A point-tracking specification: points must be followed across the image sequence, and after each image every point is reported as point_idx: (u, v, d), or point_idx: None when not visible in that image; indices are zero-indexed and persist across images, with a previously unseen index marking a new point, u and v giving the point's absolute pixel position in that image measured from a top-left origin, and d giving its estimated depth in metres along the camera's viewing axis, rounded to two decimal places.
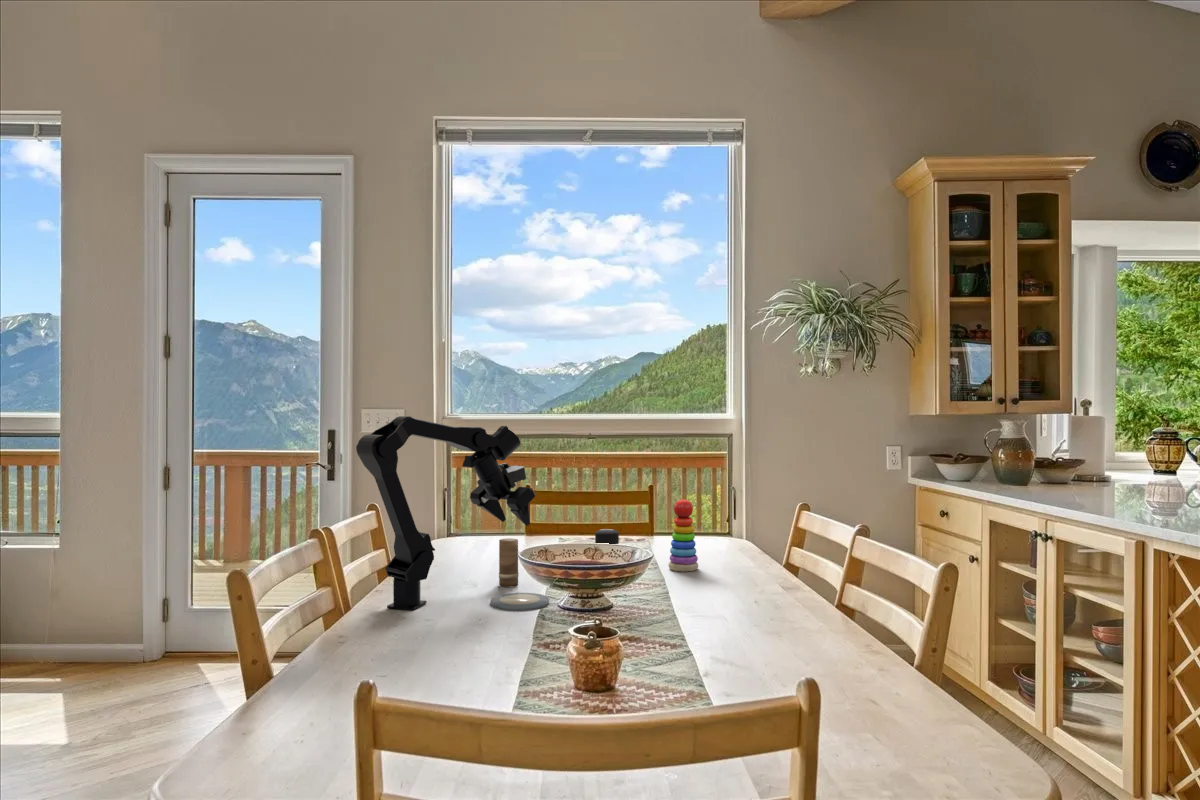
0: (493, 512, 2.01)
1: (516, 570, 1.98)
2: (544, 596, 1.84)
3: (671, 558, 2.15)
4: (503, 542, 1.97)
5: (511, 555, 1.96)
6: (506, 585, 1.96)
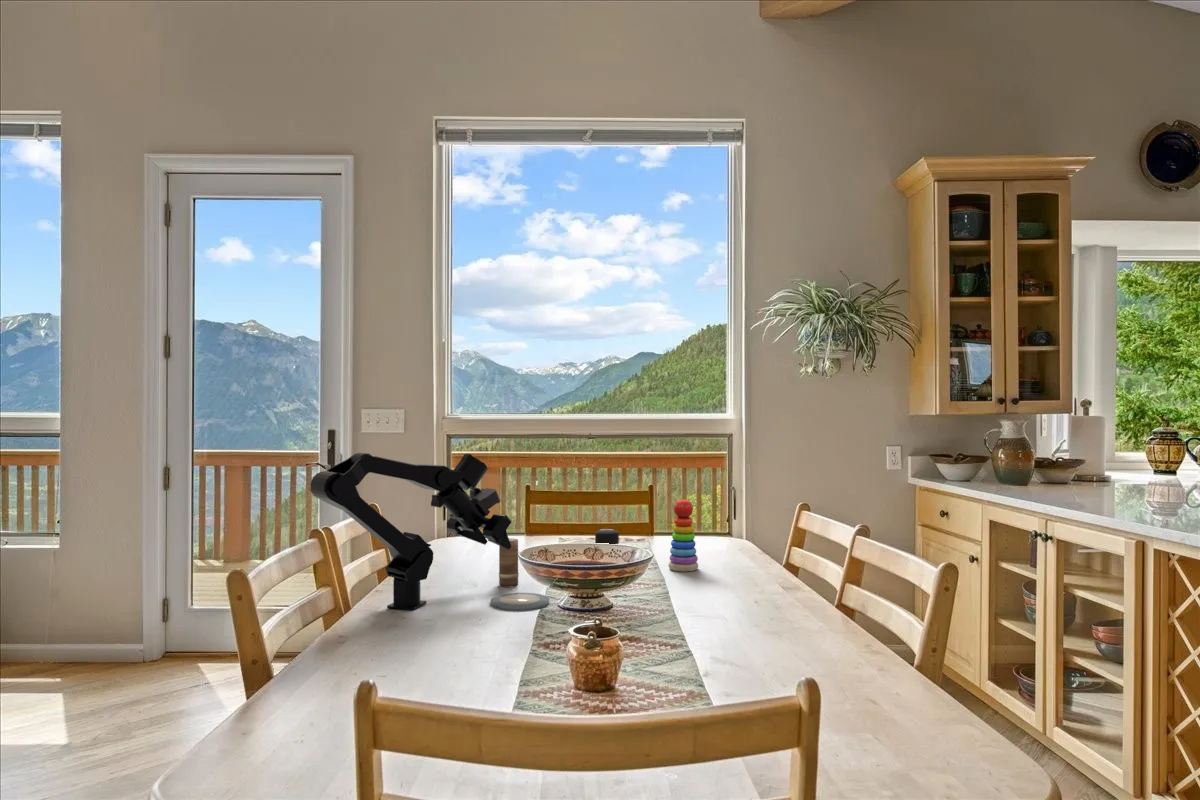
0: (473, 538, 1.97)
1: (516, 570, 1.98)
2: (544, 596, 1.84)
3: (671, 558, 2.15)
4: None
5: (511, 555, 1.96)
6: (506, 585, 1.96)
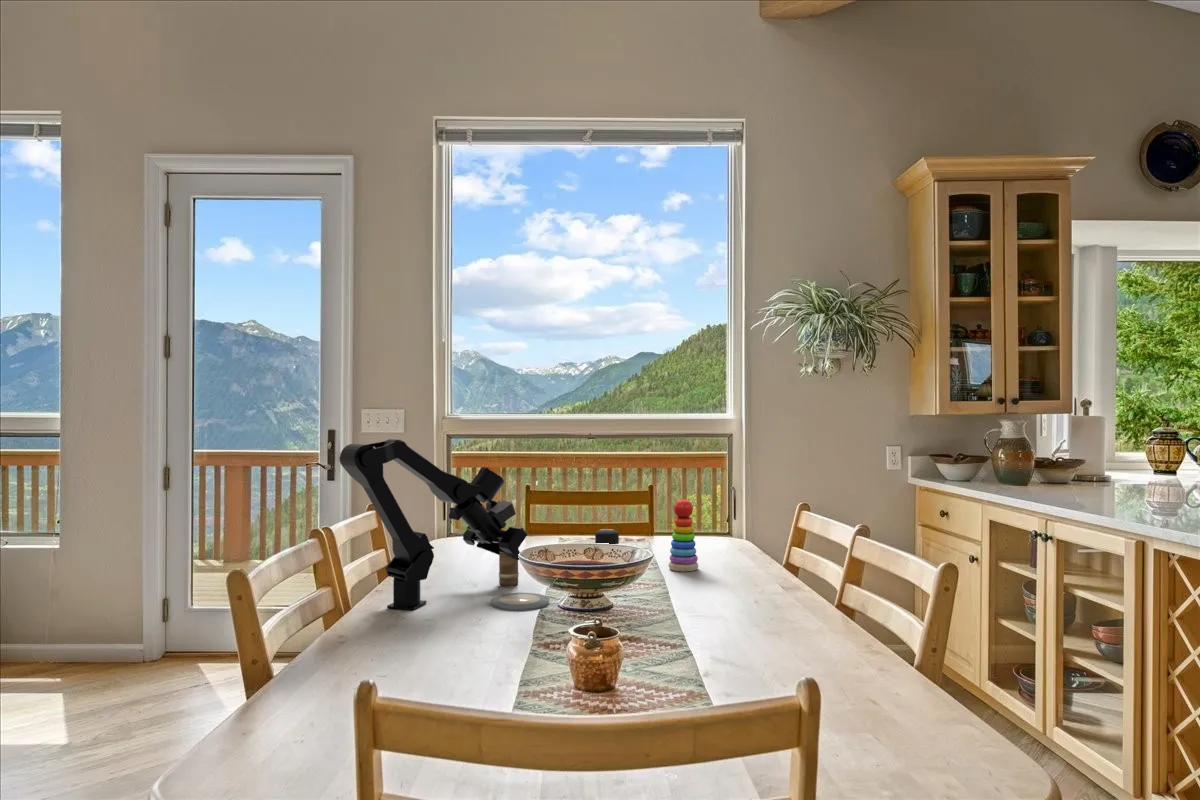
0: (494, 551, 1.99)
1: (516, 570, 1.98)
2: (544, 596, 1.84)
3: (671, 558, 2.15)
4: None
5: None
6: (506, 585, 1.96)
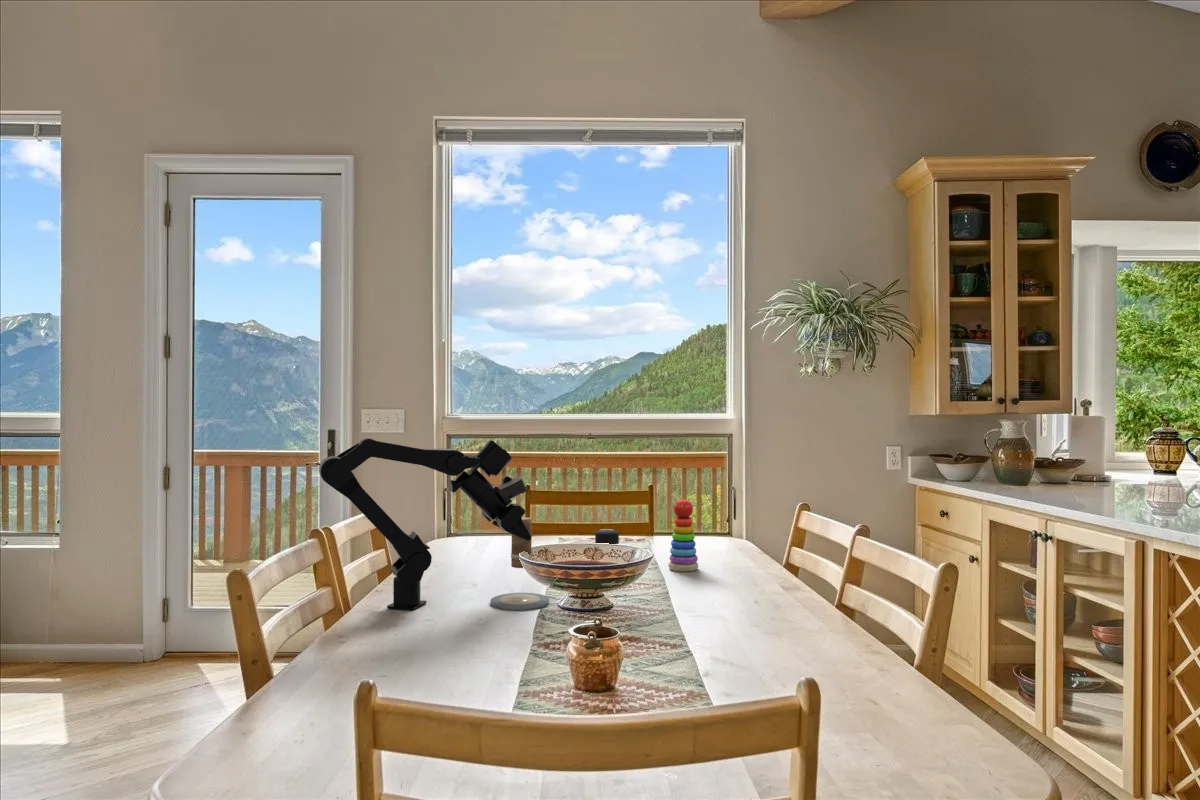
0: None
1: (526, 551, 1.86)
2: (544, 596, 1.84)
3: (671, 558, 2.15)
4: None
5: None
6: (515, 566, 1.86)
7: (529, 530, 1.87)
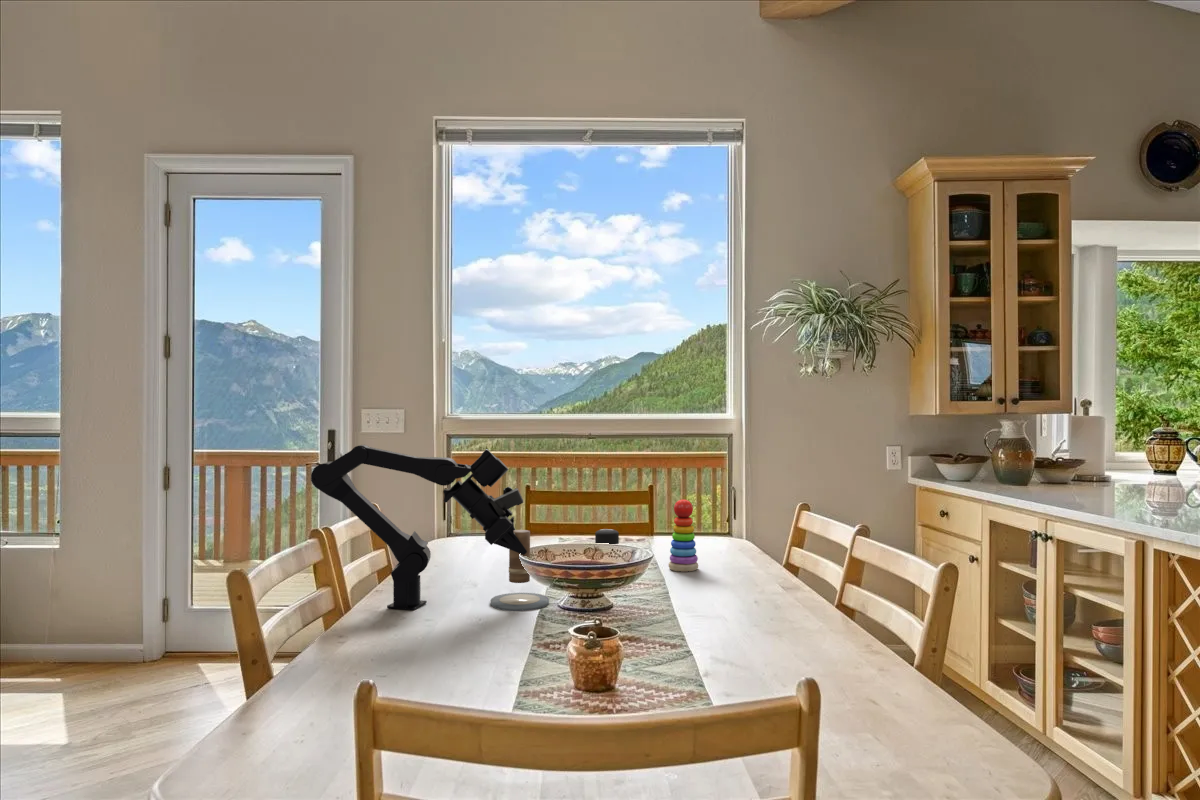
0: None
1: None
2: (544, 596, 1.84)
3: (671, 558, 2.15)
4: None
5: None
6: (511, 580, 1.79)
7: (525, 544, 1.79)
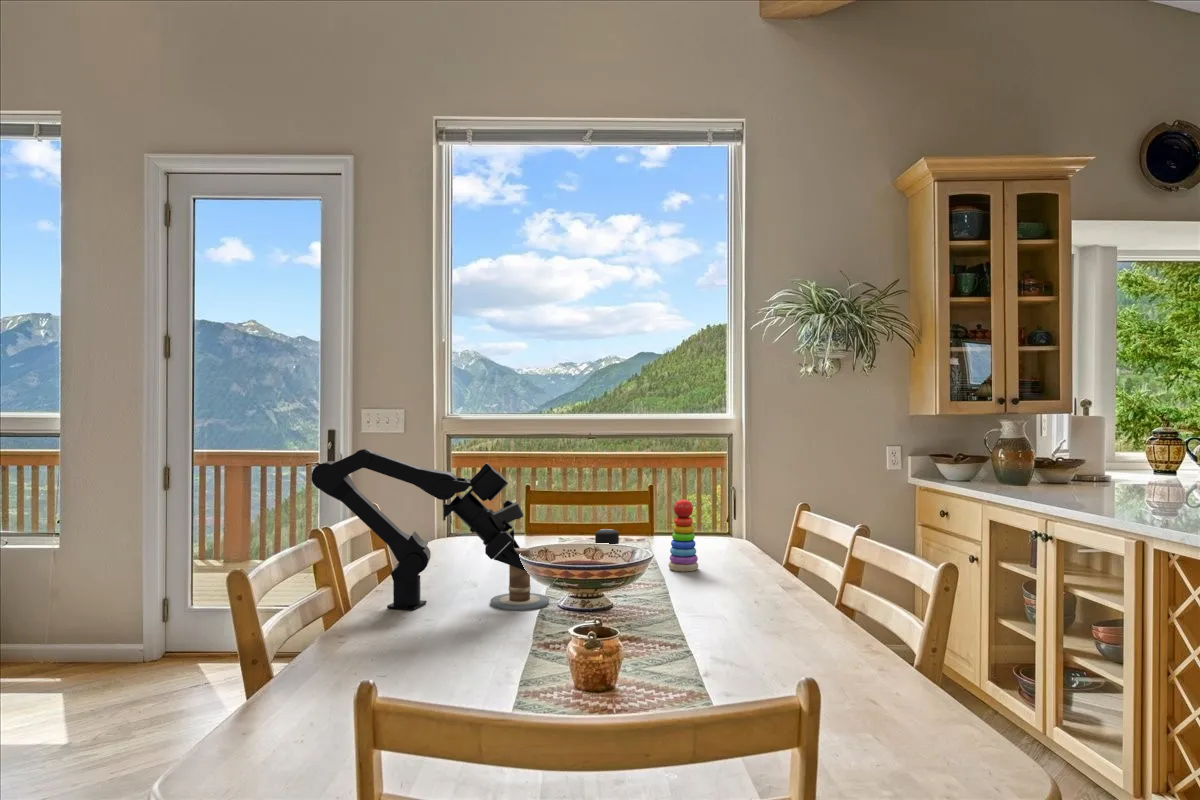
0: None
1: (522, 584, 1.79)
2: (544, 596, 1.84)
3: (671, 558, 2.15)
4: None
5: None
6: (511, 599, 1.79)
7: None
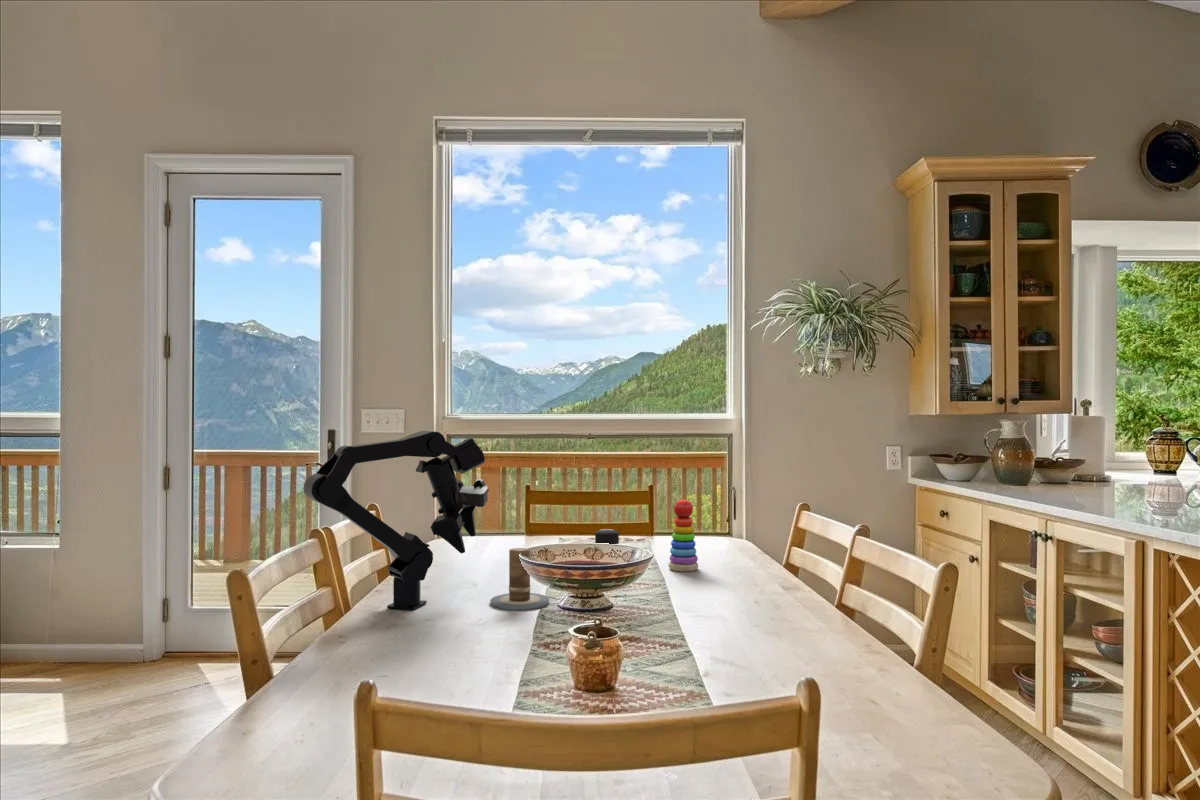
0: (462, 522, 1.90)
1: (522, 584, 1.79)
2: (544, 596, 1.84)
3: (671, 558, 2.15)
4: (509, 551, 1.80)
5: (515, 566, 1.79)
6: (511, 599, 1.79)
7: None
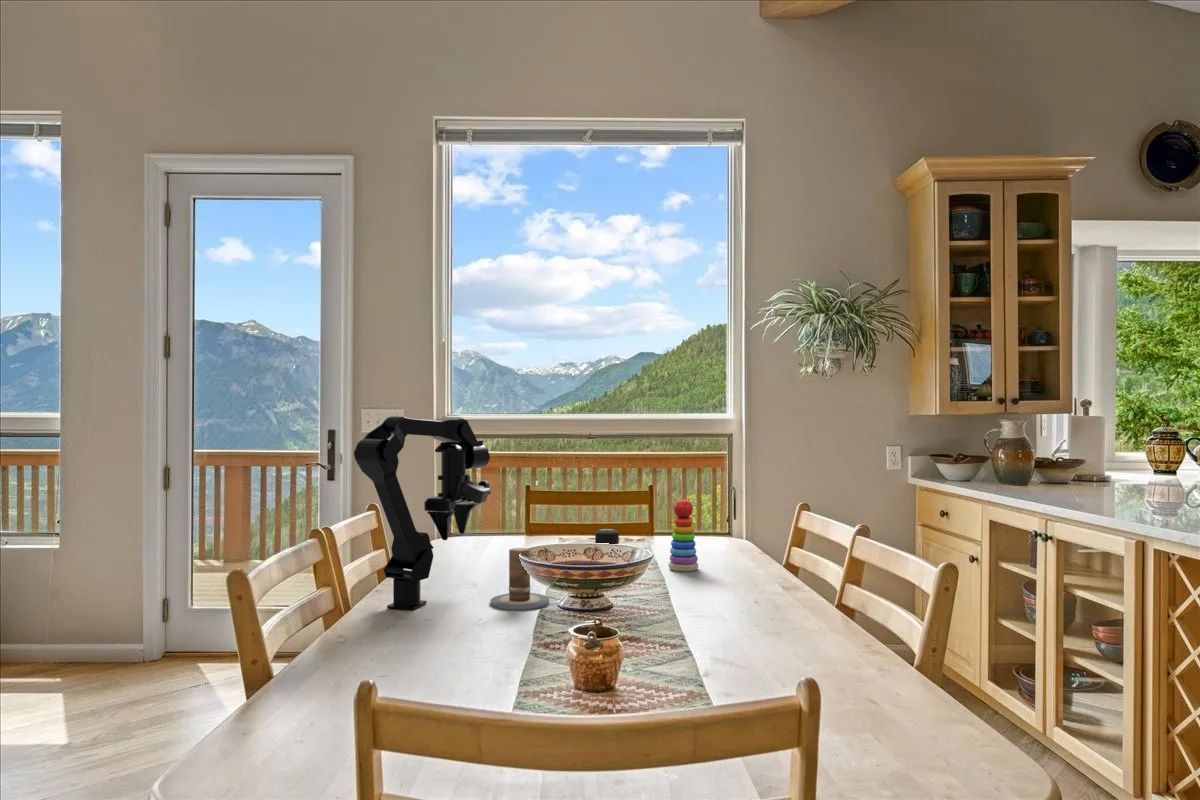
0: (456, 517, 1.96)
1: (522, 584, 1.79)
2: (544, 596, 1.84)
3: (671, 558, 2.15)
4: (509, 551, 1.80)
5: (515, 566, 1.79)
6: (511, 599, 1.79)
7: None
